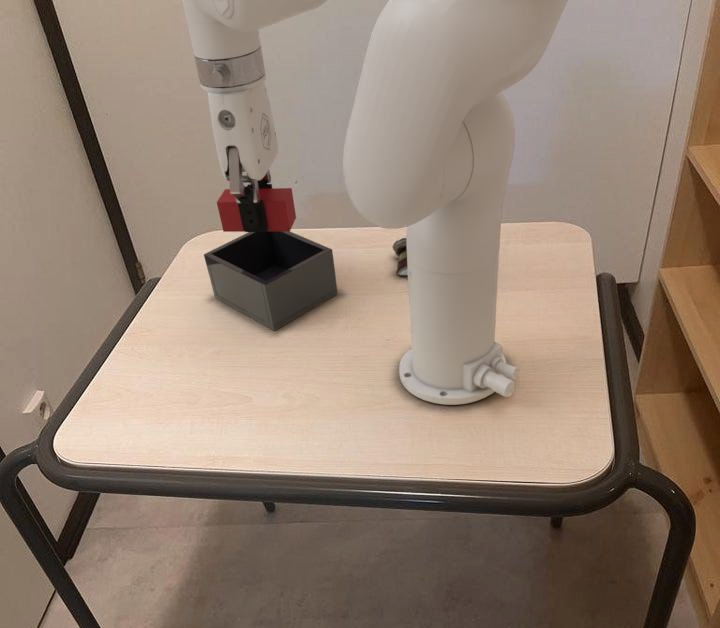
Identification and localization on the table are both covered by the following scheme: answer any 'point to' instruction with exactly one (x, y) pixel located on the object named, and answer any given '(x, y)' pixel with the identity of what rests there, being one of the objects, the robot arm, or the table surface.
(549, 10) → the robot arm
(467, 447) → the table surface
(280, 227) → the red rectangular brick
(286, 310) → the grey storage bin
